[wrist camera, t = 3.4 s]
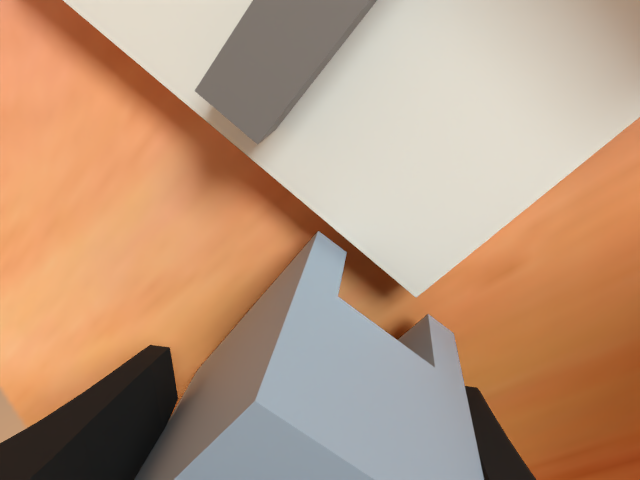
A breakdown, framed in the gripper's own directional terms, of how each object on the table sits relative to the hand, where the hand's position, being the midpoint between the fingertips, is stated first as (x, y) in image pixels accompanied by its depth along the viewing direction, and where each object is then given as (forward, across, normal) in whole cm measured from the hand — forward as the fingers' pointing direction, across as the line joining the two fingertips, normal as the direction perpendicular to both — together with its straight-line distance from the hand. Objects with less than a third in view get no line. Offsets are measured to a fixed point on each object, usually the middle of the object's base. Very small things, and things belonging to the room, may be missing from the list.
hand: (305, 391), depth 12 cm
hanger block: (+2, 0, 0) cm, 2 cm away
